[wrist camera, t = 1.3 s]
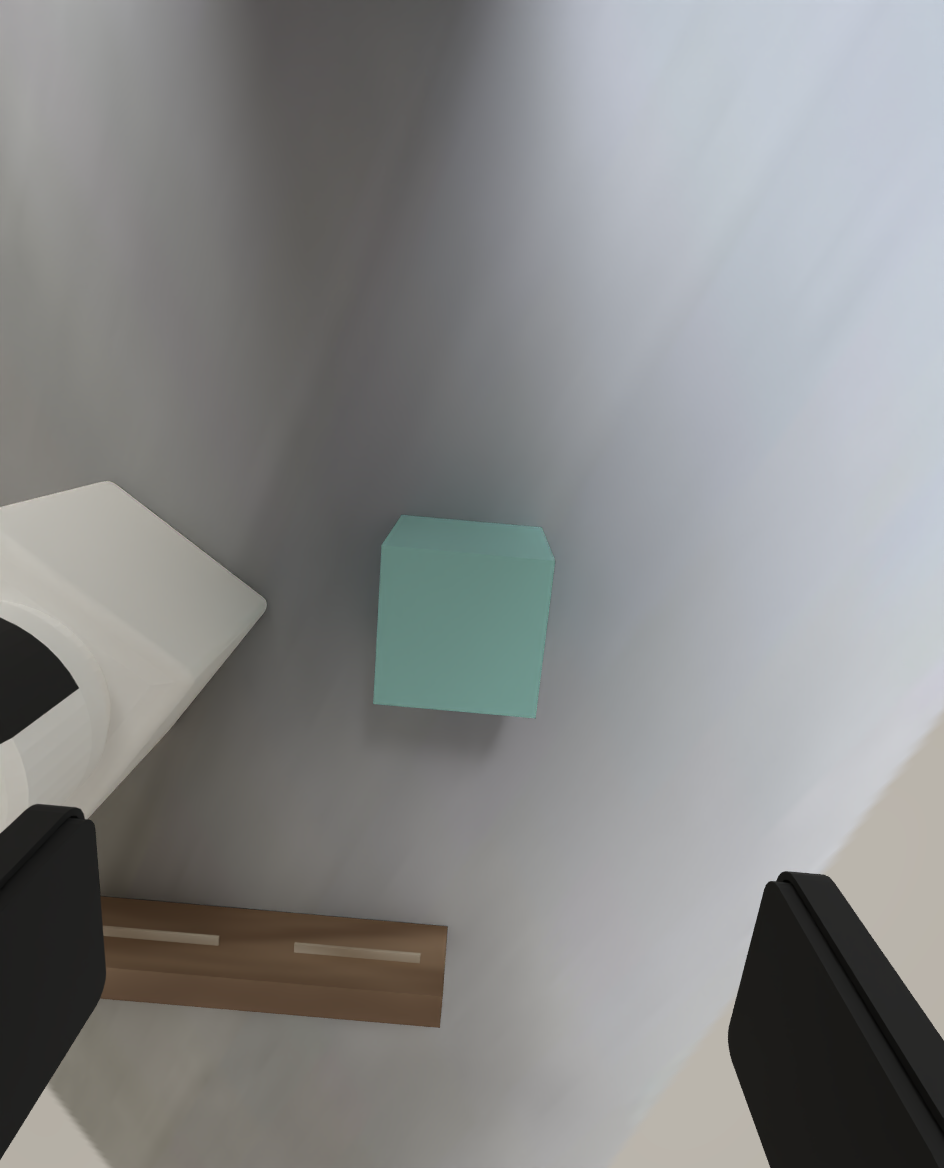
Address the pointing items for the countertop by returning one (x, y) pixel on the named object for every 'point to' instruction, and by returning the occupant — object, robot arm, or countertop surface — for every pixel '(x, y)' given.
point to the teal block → (462, 616)
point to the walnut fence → (273, 962)
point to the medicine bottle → (101, 641)
